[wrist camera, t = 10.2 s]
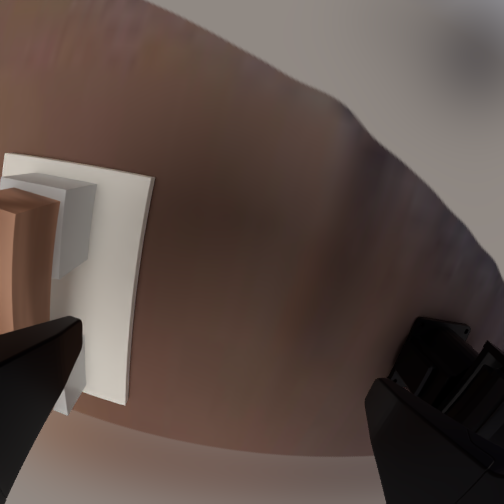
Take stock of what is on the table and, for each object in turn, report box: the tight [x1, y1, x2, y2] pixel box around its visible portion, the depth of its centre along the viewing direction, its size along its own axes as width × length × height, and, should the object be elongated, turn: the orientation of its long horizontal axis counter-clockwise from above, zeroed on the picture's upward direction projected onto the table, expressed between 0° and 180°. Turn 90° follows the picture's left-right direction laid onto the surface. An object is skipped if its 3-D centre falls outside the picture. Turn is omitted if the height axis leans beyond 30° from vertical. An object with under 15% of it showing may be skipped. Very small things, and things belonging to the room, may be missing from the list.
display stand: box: [0, 153, 155, 415], centre depth 18 cm, size 12×18×5 cm, turn 166°
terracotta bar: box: [0, 188, 60, 415], centre depth 14 cm, size 4×15×4 cm, turn 163°
